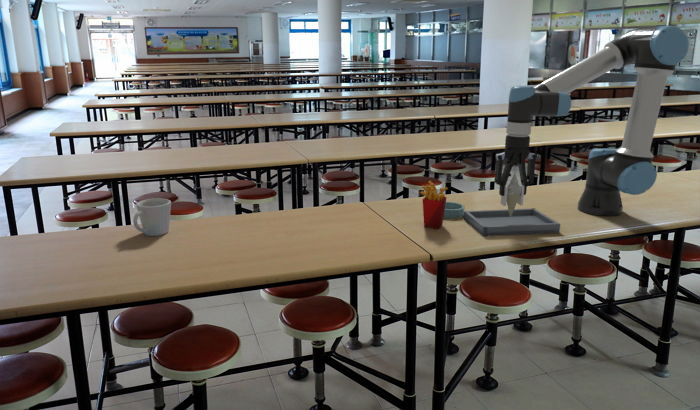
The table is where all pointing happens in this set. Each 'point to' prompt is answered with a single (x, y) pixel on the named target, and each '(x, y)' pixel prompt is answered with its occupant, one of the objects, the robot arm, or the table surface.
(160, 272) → the table surface
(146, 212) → the mug
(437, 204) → the french fries
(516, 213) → the tray
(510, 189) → the soft serve swirl
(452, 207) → the teal ring
